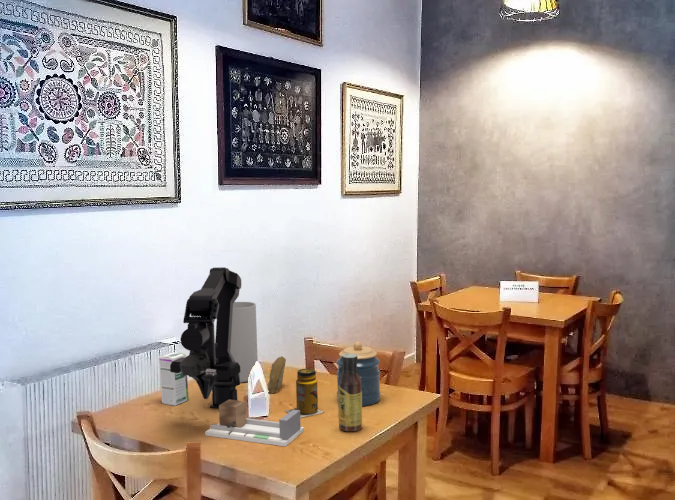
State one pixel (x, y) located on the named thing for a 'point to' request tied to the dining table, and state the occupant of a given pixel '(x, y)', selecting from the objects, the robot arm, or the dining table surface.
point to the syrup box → (172, 381)
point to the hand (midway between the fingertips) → (206, 398)
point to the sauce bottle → (350, 395)
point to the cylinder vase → (244, 337)
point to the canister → (364, 372)
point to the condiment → (306, 393)
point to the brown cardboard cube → (232, 413)
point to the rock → (276, 374)
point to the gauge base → (262, 430)
